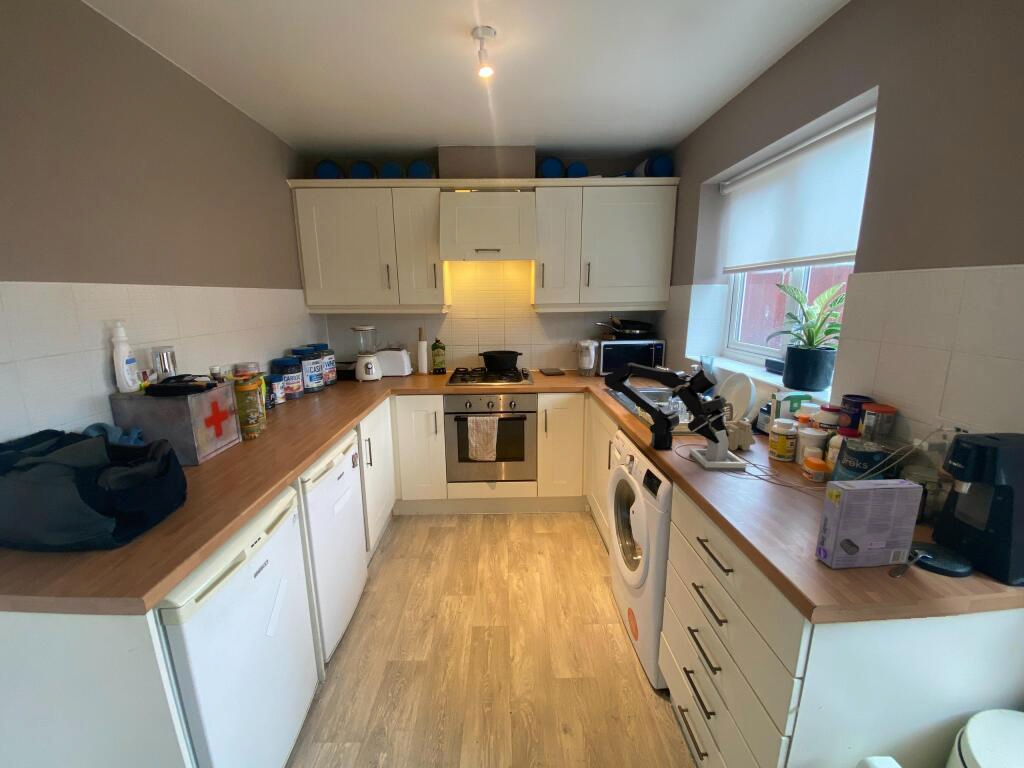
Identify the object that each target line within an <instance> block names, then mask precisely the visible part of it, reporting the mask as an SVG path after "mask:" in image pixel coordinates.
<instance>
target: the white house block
mask: <svg viewBox="0 0 1024 768" xmlns="http://www.w3.org/2000/svg"><path fill="white" fill-rule="evenodd" d="M715 435H716V436H717V438H718V440H719V443H718V444H716V443H714V442H713V441H711V440H710V441H709V442H708V443H707V445H706V449H707V451H706V458H705V459H706V460H707V461H710V462H721V461H723V460H726V458H727V452H728V450H729V449H728V446H729V442H728V438H727V435H726V430H722V431H719V432H717V433H715Z"/></svg>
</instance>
